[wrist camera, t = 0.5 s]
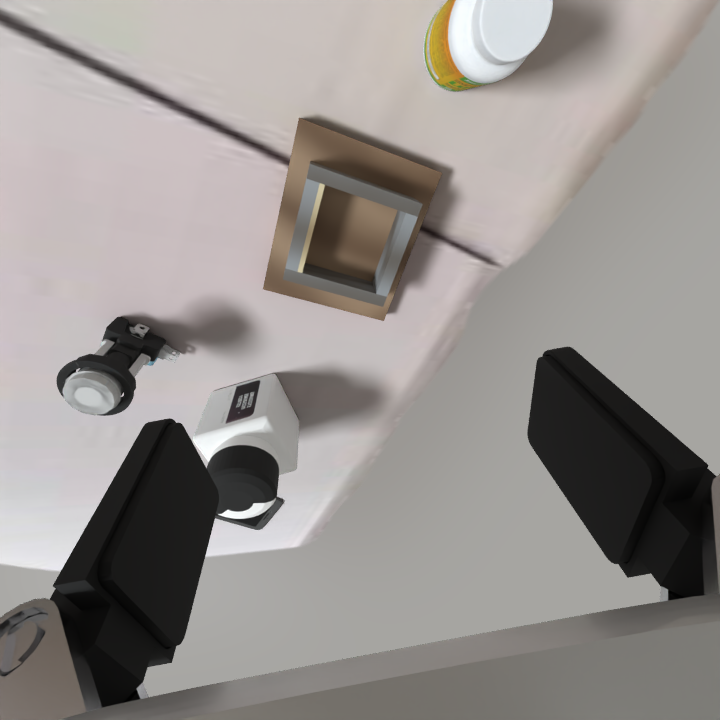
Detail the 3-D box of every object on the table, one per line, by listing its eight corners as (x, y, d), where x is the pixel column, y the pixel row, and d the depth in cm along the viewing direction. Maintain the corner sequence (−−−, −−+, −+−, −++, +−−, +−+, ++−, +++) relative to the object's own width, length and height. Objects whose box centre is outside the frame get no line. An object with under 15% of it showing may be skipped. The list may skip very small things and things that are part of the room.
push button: (189, 333, 38) (153, 392, 29) (171, 371, 40) (133, 437, 31) (118, 302, 35) (57, 356, 27) (104, 345, 37) (42, 408, 29)
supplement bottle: (430, 103, 30) (474, 93, 21) (414, 16, 27) (458, -34, 18) (496, 77, 29) (568, 56, 21) (487, -15, 26) (566, -80, 18)
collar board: (299, 118, 29) (297, 116, 25) (437, 171, 32) (453, 176, 28) (264, 283, 36) (258, 301, 32) (381, 314, 39) (388, 334, 35)
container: (209, 390, 42) (172, 485, 31) (275, 371, 41) (261, 460, 30) (240, 439, 46) (216, 537, 35) (300, 421, 45) (295, 516, 34)
